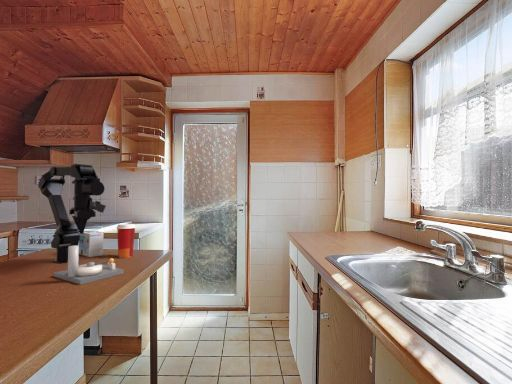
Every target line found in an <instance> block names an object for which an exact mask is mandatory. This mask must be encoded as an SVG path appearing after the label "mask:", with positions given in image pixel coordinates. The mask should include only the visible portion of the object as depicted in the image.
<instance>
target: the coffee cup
mask: <svg viewBox="0 0 512 384" xmlns="http://www.w3.org/2000/svg"><path fill="white" fill-rule="evenodd" d="M136 228H137V227H136V225H135V223H118V224H117V226H116V229H117V232H116V233H117V251H118V252H117V254H118V259H129V258H132V257H133V256H134V246H135V245H134V243H135V235H136V234H135V232H136Z"/></svg>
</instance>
